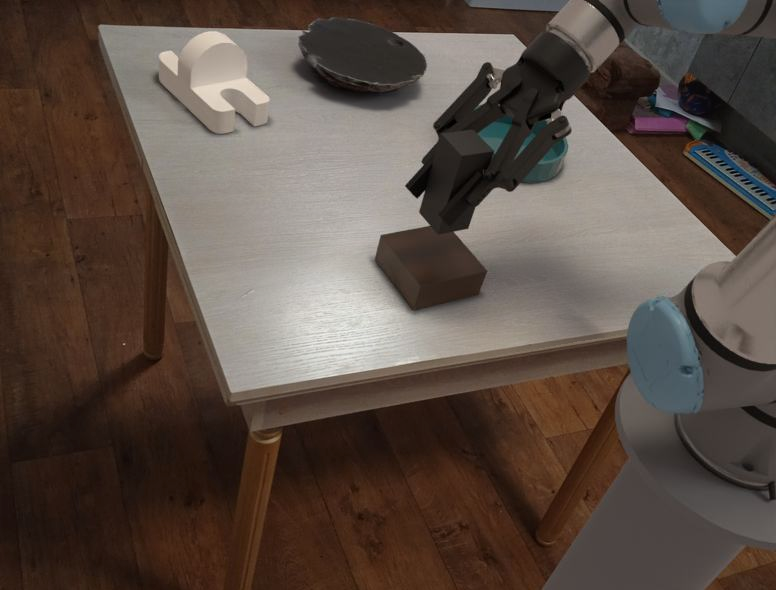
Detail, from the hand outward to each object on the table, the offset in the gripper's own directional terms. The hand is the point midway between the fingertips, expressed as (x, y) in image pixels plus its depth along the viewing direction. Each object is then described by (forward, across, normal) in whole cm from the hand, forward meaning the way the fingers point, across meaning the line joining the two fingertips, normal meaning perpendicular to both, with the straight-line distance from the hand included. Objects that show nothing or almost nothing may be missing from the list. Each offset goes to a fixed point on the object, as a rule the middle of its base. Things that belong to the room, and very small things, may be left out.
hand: (427, 206), depth 96 cm
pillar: (0, 0, -5) cm, 5 cm away
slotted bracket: (+9, +47, -9) cm, 49 cm away
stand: (+6, 0, -11) cm, 13 cm away
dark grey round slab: (-11, +45, -29) cm, 55 cm away
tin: (-18, +17, -35) cm, 43 cm away
